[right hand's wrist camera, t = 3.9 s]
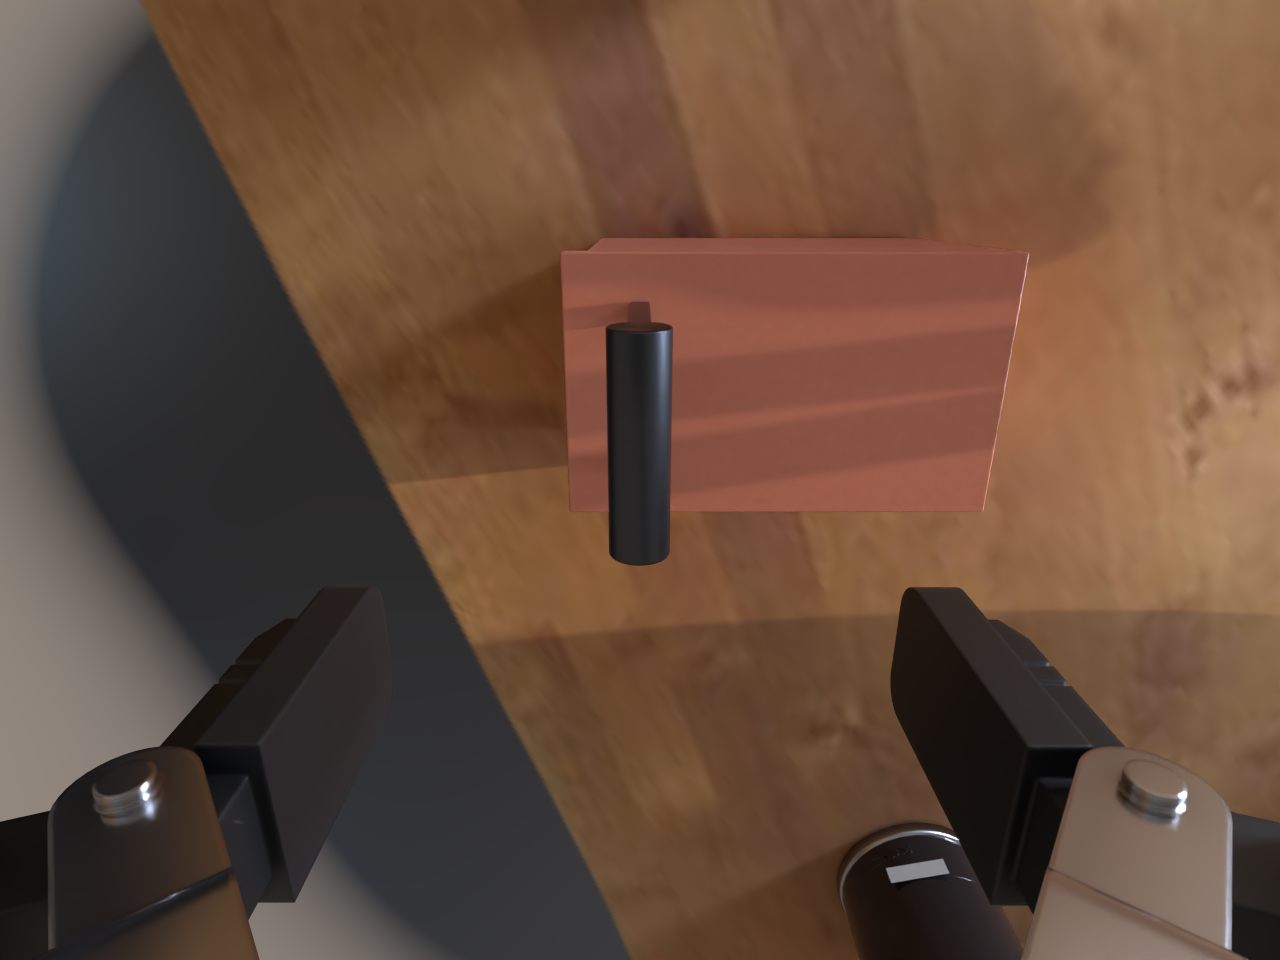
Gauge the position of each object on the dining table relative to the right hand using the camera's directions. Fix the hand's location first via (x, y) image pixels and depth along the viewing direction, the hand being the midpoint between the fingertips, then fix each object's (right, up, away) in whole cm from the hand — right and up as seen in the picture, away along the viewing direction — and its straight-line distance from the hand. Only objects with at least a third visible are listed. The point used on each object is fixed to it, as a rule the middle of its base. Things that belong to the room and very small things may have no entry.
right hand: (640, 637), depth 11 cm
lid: (+5, +6, +16) cm, 18 cm away
